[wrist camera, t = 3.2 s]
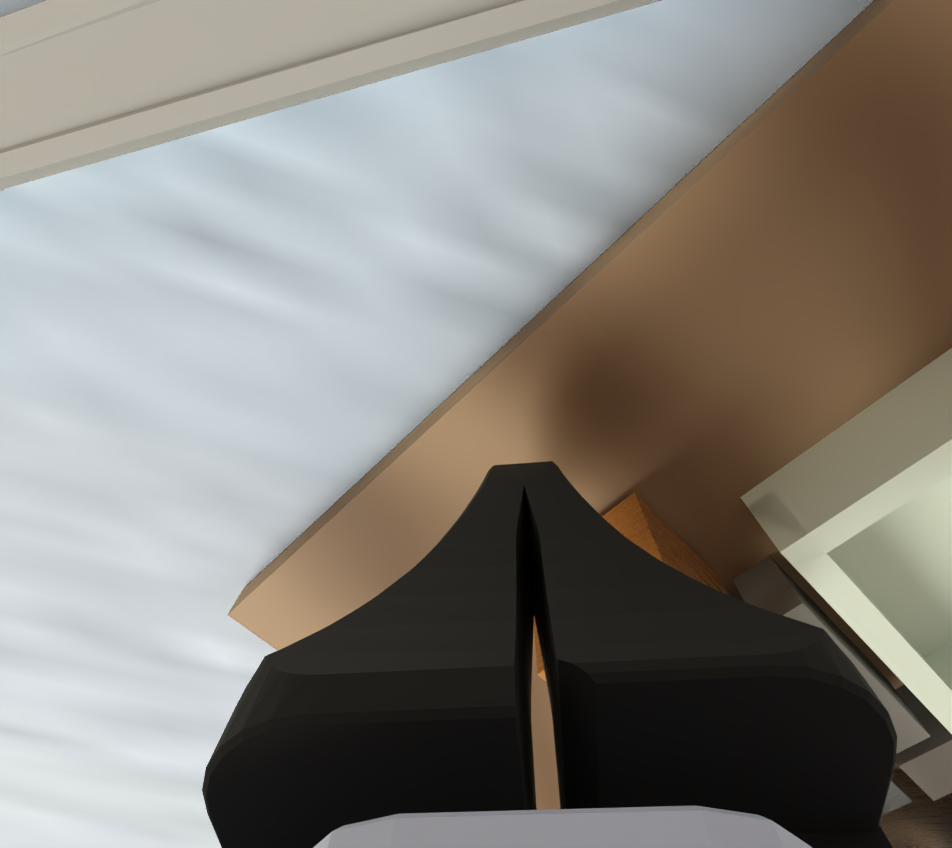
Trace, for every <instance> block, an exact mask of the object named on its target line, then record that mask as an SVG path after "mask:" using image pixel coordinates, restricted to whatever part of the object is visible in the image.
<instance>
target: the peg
mask: <svg viewBox="0 0 952 848" xmlns="http://www.w3.org/2000/svg"><path fill="white" fill-rule="evenodd" d="M893 772H894V774H895V775H896V777H897V778H898V780H899V782H900V783H901V785H902V786H903V788H904V789H905V791H906V792H907V794H908V795H909V797H910V799H911V800H912V802H910V803H908V804H906V805H903V806H901V807H899V808H897V809H895V810H893V811H891V812H889V813H887V814H884V815H882V817H881V821H880V826H881V828H882V830H883V832H884V833H885V835H886V837H887V839H888V840H889V842H890V844H891V846H892V847H893V848H952V793H950V794H948V795H946V796H943V797H941V798H939V799H937V800H935V801H933V800H932V799H931V798H930V797H929V796H928V795H927V794H926V793H925V792H924V791H923V790H922V789H921V788H920V787H919V786H918V785H917V784H916V783H915V782H914V781H913V780H912V779H911V778H910V777H909V776H908V775H907V774H906V773H905V772H904V771H903V770H902V769H894V770H893Z"/></svg>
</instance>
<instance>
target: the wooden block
mask: <svg viewBox="0 0 952 848" xmlns="http://www.w3.org/2000/svg"><path fill="white" fill-rule="evenodd" d="M602 517H603V518H604V519H605V520H606V521H607V522H608V523H610V524H611V525H612V526H613V527H614V528H615V529H616V530H618V531H619V532H620V533H621V534H622V535H624V536H625V537H626V538H627V539H629V540H630V541H632V542H633V543H635V544H636V545H638V546H639V547H640V548H642V549H643V550H645V551H646V552H648V553H649V554H651V555H652V556H654V557H655V558H657V559H659V560H660V561H662V562H664V563H665V564H667V565H669V566H671V567H672V568H674V569H676V570H678V571H680V572H682V573H683V574H685V575H687V576H689V577H691V578H693V579H694V580H696V581H698V582H701V583H703V584H705V585H707V586H709V587H711V588H713V589H715V590H717V591H720V592H722V593H725V594H727V595H729V594H728V592H727V590H726V588H725V587H724V585H723V583H722V581H721V579H720V577H719V576H718V575H717V574H716V573H715V572H714V571H713V570H712V569H711V568H710V567H709V566H708V565H707V564H706V563H705V562H704V561H703V560H702V559H701V558H700V557H699V556H698V555H697V554H696V553H695V552H694V551H693V550H692V549H691V548H690V547H689V546H688V545H687V544H686V543H685V542H684V541H683V540H682V539H681V538H680V537H679V536H678V535H677V534H676V533H675V532H674V531H673V530H672V529H671V528H670V527H669V526H668V525H667V524H666V523H665V522H664V521H663V520H662V519H661V518H660V517H659V516H658V515H657V514H656V513H655V512H654V511H653V510H652V509H651V508H650V507H649V506H648V505H647V504H646V503H645V502H644V501H643V500H642V499H641V498H640V497H639V496H638V495H637V494H636V493H635V492H634V493H632V494H631V495H630V496H628V497H627V498H626V499H625V500H623V501H622V502H621V503H619V504H618V505H617V506H615V507H614V508H613V509H611V510H610V511H609V512H607V513H606V514H605V515H603V516H602ZM534 635H535V649H536V663H537V675H538V676H539V677H541V678H542V679H543V680H544V681H546V677H545V671H544V666H543V661H542V655H541V650H540V644H539V639H538V634H537V628H536V623H535V617H534ZM910 802H912V800H911V799H910V797H909V795H908V794H907V792H906V791H905V789H904V788H903V786H902V785H901V783H900V782H899V780H898V778H897V777H896V775H895V774H894V772H893V774H892V778H891V782H890V786H889V790H888V793H887V797H886V801H885V805H884V809H883V813H882V815H884V814H887V813H889V812H891V811H893V810H895V809H897V808H899V807H901V806H903V805H906V804H908V803H910Z"/></svg>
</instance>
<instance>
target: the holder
mask: <svg viewBox="0 0 952 848" xmlns="http://www.w3.org/2000/svg"><path fill="white" fill-rule="evenodd" d="M951 348H952V0H874V1H873V2H872V3H871V4H870V5H869V6H868V7H867V8H866V9H865V10H864V11H862V12H861V13H860V14H859V15H858V16H857V17H856V18H855V19H854V20H853V21H852V22H851V23H850V24H849V25H847V26H846V27H845V28H844V29H843V30H842V31H841V32H840V33H839V34H838V35H837V36H836V37H835V38H833V39H832V40H831V41H830V42H829V43H828V44H827V45H826V46H825V47H824V48H823V49H822V50H821V51H820V52H818V53H817V54H816V55H815V56H814V57H813V58H812V59H811V60H810V61H809V62H808V63H807V64H806V65H805V66H803V67H802V68H801V69H800V70H799V71H798V72H797V73H796V74H795V75H794V76H793V77H792V78H791V79H790V80H788V81H787V82H786V83H785V84H784V85H783V86H782V87H781V88H780V89H779V90H778V91H777V92H776V93H775V94H773V95H772V96H771V97H770V98H769V99H768V100H767V101H766V102H765V103H764V104H763V105H762V106H761V107H759V108H758V109H757V110H756V111H755V112H754V113H753V114H752V115H751V116H750V117H749V118H748V119H747V120H746V121H744V122H743V123H742V124H741V125H740V126H739V127H738V128H737V129H736V130H735V131H734V132H733V133H732V134H731V135H729V136H728V137H727V138H726V139H725V140H724V141H723V142H722V143H721V144H720V145H719V146H718V147H717V148H716V149H714V150H713V151H712V152H711V153H710V154H709V155H708V156H707V157H706V158H705V159H704V160H703V161H702V162H701V163H699V164H698V165H697V166H696V167H695V168H694V169H693V170H692V171H691V172H690V173H689V174H688V175H687V176H685V177H684V178H683V179H682V180H681V181H680V182H679V183H678V184H677V185H676V186H675V187H674V188H673V189H672V190H670V191H669V192H668V193H667V194H666V195H665V196H664V197H663V198H662V199H661V200H660V201H659V202H658V203H657V204H655V205H654V206H653V207H652V208H651V209H650V210H649V211H648V212H647V213H646V214H645V215H644V216H643V217H642V218H640V219H639V220H638V221H637V222H636V223H635V224H634V225H633V226H632V227H631V228H630V229H629V230H628V231H627V232H625V233H624V234H623V235H622V236H621V237H620V238H619V239H618V240H617V241H616V242H615V243H614V244H613V245H611V246H610V247H609V248H608V249H607V250H606V251H605V252H604V253H603V254H602V255H601V256H600V257H599V258H598V259H596V260H595V261H594V262H593V263H592V264H591V265H590V266H589V267H588V268H587V269H586V270H585V271H584V272H583V273H581V274H580V275H579V276H578V277H577V278H576V279H575V280H574V281H573V282H572V283H571V284H570V285H569V286H568V287H566V288H565V289H564V290H563V291H562V292H561V293H560V294H559V295H558V296H557V297H556V298H555V299H554V300H553V301H551V302H550V303H549V304H548V305H547V306H546V307H545V308H544V309H543V310H542V311H541V312H540V313H539V314H537V315H536V316H535V317H534V318H533V319H532V320H531V321H530V322H529V323H528V324H527V325H526V326H525V327H524V328H522V329H521V330H520V331H519V332H518V333H517V334H516V335H515V336H514V337H513V338H512V339H511V340H510V341H509V342H507V343H506V344H505V345H504V346H503V347H502V348H501V349H500V350H499V351H498V352H497V353H496V354H495V355H494V356H492V357H491V358H490V359H489V360H488V361H487V362H486V363H485V364H484V365H483V366H482V367H481V368H480V369H478V370H477V371H476V372H475V373H474V374H473V375H472V376H471V377H470V378H469V379H468V380H467V381H466V382H465V383H463V384H462V385H461V386H460V387H459V388H458V389H457V390H456V391H455V392H454V393H453V394H452V395H451V396H450V397H448V398H447V399H446V400H445V401H444V402H443V403H442V404H441V405H440V406H439V407H438V408H437V409H436V410H435V411H433V412H432V413H431V414H430V415H429V416H428V417H427V418H426V419H425V420H424V421H423V422H422V423H421V424H420V425H418V426H417V427H416V428H415V429H414V430H413V431H412V432H411V433H410V434H409V435H408V436H407V437H406V438H404V439H403V440H402V441H401V442H400V443H399V444H398V445H397V446H396V447H395V448H394V449H393V450H392V451H391V452H389V453H388V454H387V455H386V456H385V457H384V458H383V459H382V460H381V461H380V462H379V463H378V464H377V465H376V466H374V467H373V468H372V469H371V470H370V471H369V472H368V473H367V474H366V475H365V476H364V477H363V478H362V479H361V480H359V481H358V482H357V483H356V484H355V485H354V486H353V487H352V488H351V489H350V490H349V491H348V492H347V493H346V494H344V495H343V496H342V497H341V498H340V499H339V500H338V501H337V502H336V503H335V504H334V505H333V506H332V507H330V508H329V509H328V510H327V511H326V512H325V513H324V514H323V515H322V516H321V517H320V518H319V519H318V520H317V521H315V522H314V523H313V524H312V525H311V526H310V527H309V528H308V529H307V530H306V531H305V532H304V533H303V534H302V535H300V536H299V537H298V538H297V539H296V540H295V541H294V542H293V543H292V544H291V545H290V546H289V547H288V548H287V549H285V550H284V551H283V552H282V553H281V554H280V555H279V556H278V557H277V558H276V559H275V560H274V561H273V562H272V563H270V564H269V565H268V566H267V567H266V568H265V569H264V570H263V571H262V572H261V573H260V574H259V575H258V576H256V577H255V578H254V579H253V580H252V581H251V582H250V583H249V584H248V585H247V586H246V587H245V588H244V589H243V590H242V592H241V594H240V595H239V597H238V599H237V600H236V602H235V603H234V605H233V607H232V608H231V610H230V612H229V613H228V615H229V616H230V617H231V618H233V619H234V620H236V621H237V622H238V623H240V624H241V625H243V626H244V627H245V628H247V629H248V630H250V631H251V632H252V633H254V634H255V635H257V636H258V637H259V638H261V639H262V640H264V641H265V642H266V643H268V644H269V645H271V646H272V647H273V648H275V649H276V650H280V649H282V648H285V647H287V646H289V645H291V644H293V643H295V642H297V641H299V640H301V639H303V638H305V637H307V636H309V635H311V634H313V633H315V632H317V631H319V630H321V629H323V628H325V627H327V626H329V625H331V624H332V623H334V622H336V621H338V620H339V619H341V618H343V617H344V616H346V615H348V614H349V613H351V612H353V611H354V610H356V609H358V608H359V607H361V606H362V605H364V604H365V603H367V602H368V601H370V600H371V599H373V598H374V597H376V596H377V595H379V594H380V593H381V592H383V591H384V590H385V589H387V588H388V587H389V586H390V585H392V584H393V583H394V582H396V581H397V580H398V579H400V578H401V577H402V576H403V575H405V574H406V573H407V572H409V571H410V570H411V569H412V568H413V567H415V566H416V565H417V564H418V563H419V562H420V561H421V560H422V559H423V558H424V557H425V556H426V555H427V554H428V553H429V552H430V551H431V550H432V549H433V548H434V547H435V546H436V545H437V544H438V542H439V541H440V540H441V539H442V538H443V537H444V535H445V534H446V533H447V532H448V530H449V529H450V528H451V527H452V526H453V524H454V523H455V522H456V521H457V519H458V518H459V517H460V515H461V514H462V513H463V511H464V510H465V508H466V507H467V505H468V504H469V503H470V501H471V500H472V498H473V497H474V495H475V494H476V492H477V490H478V489H479V487H480V485H481V484H482V482H483V480H484V478H485V476H486V474H487V472H488V471H489V469H490V468H491V467H492V466H493V465H505V464H519V463H533V462H547V461H553V462H554V463H555V464H556V465H557V466H558V467H559V469H560V470H561V471H562V473H563V474H564V476H565V477H566V478H567V479H568V481H569V482H570V483H571V484H572V485H573V487H574V488H575V489H576V490H577V491H578V492H579V494H580V495H581V496H582V497H583V498H584V499H585V500H586V501H587V502H588V503H589V504H590V505H591V506H592V507H593V508H594V509H595V510H596V511H597V512H598V513H599V514H600V515H601V516H603V515H605V514H606V513H607V512H609V511H610V510H611V509H613V508H614V507H615V506H617V505H618V504H619V503H621V502H622V501H623V500H625V499H626V498H627V497H628V496H630V495H631V494H632V493H634V492H635V493H636V494H637V495H638V496H639V497H640V498H641V499H642V500H643V501H644V502H645V503H646V504H647V505H648V506H649V507H650V508H651V509H652V510H653V511H654V512H655V513H656V514H657V515H658V516H659V517H660V518H661V519H662V520H663V521H664V522H665V523H666V524H667V525H668V526H669V527H670V528H671V529H672V530H673V531H674V532H675V533H676V534H677V535H678V536H679V537H680V538H681V539H682V540H683V541H684V542H685V543H686V544H687V545H688V546H689V547H690V548H691V549H692V550H693V551H694V552H695V553H696V554H697V555H698V556H699V557H700V558H701V559H702V560H703V561H704V562H705V563H706V564H707V565H708V566H709V567H710V568H711V569H712V570H713V571H714V572H715V573H716V574H717V575H718V576H719V577H720V579H721V581H722V583H723V585H724V587H725V588H726V590H727V592H728V594H729V596H732V597H734V598H737V599H739V600H741V601H744V602H746V603H748V604H751V605H754V606H756V607H759V608H762V609H765V610H768V611H771V612H774V613H777V614H780V615H783V616H786V617H789V618H792V619H795V620H798V621H801V622H804V623H807V624H810V625H813V626H816V627H819V628H822V629H824V630H825V631H826V632H827V633H828V635H829V636H830V637H831V638H832V640H833V641H834V642H835V643H836V644H837V645H838V646H839V648H840V649H841V650H842V651H843V652H844V653H845V654H846V656H847V657H848V658H849V659H850V660H851V661H852V663H853V664H854V665H855V667H856V668H857V669H858V671H859V672H860V673H861V675H862V676H863V677H864V678H865V680H866V681H867V683H868V684H869V685H870V687H871V688H872V690H873V691H874V693H875V694H876V695H877V697H878V698H879V700H880V701H881V702H882V704H883V705H884V707H885V708H886V709H887V711H888V712H889V715H890V717H891V720H892V723H893V726H894V728H895V731H896V734H897V750H896V762H895V766H894V769H902V770H903V771H904V772H905V773H906V774H907V775H908V776H909V777H910V778H911V779H912V780H913V781H914V782H915V783H916V784H917V785H918V786H919V787H920V788H921V789H922V790H923V791H924V792H925V793H926V794H927V795H928V796H929V797H930V798H931V799H932V800H933V801H935V800H937V799H939V798H941V797H943V796H946V795H948V794H950V793H952V734H951V733H950V732H949V731H948V730H947V729H946V728H945V727H944V726H943V725H942V724H941V723H940V721H939V720H938V719H937V718H936V717H935V716H934V715H933V714H932V713H931V712H930V711H929V710H928V709H927V708H926V707H925V706H924V705H923V703H922V702H921V701H920V700H919V699H918V698H917V697H916V696H915V695H914V694H913V693H912V692H911V691H910V690H909V689H908V688H907V686H906V685H905V684H904V683H903V682H902V681H901V680H900V679H899V678H898V677H897V676H896V675H895V674H894V673H893V672H892V671H891V669H890V668H889V667H888V666H887V665H886V664H885V663H884V662H883V661H882V660H881V659H880V658H879V657H878V656H877V655H876V654H875V652H874V651H873V650H872V649H871V648H870V647H869V646H868V645H867V644H866V643H865V642H864V641H863V640H862V639H861V638H860V637H859V636H858V634H857V633H856V632H855V631H854V630H853V629H852V628H851V627H850V626H849V625H848V624H847V623H846V622H845V621H844V620H843V619H842V617H841V616H840V615H839V614H838V613H837V612H836V611H835V610H834V609H833V608H832V607H831V606H830V605H829V604H828V603H827V602H826V600H825V599H824V598H823V597H822V596H821V595H820V594H819V593H818V592H817V591H816V590H815V589H814V588H813V587H812V586H811V585H810V583H809V582H808V581H807V580H806V579H805V578H804V577H803V576H802V575H801V574H800V573H799V572H798V571H797V570H796V569H795V568H794V567H793V565H792V564H791V563H790V562H789V561H788V560H787V559H786V558H785V557H784V556H783V555H782V554H781V553H780V551H779V550H778V549H777V547H776V546H775V545H774V543H773V542H772V540H771V539H770V538H769V536H768V535H767V533H766V532H765V531H764V529H763V528H762V527H761V525H760V524H759V522H758V521H757V520H756V518H755V517H754V516H753V514H752V513H751V511H750V510H749V509H748V507H747V506H746V504H745V503H744V502H743V500H742V499H741V498H740V497H741V496H743V495H744V494H746V493H747V492H749V491H750V490H751V489H753V488H754V487H756V486H757V485H758V484H760V483H761V482H763V481H764V480H765V479H767V478H768V477H770V476H771V475H773V474H774V473H775V472H777V471H778V470H780V469H781V468H782V467H784V466H785V465H787V464H788V463H790V462H791V461H792V460H794V459H795V458H797V457H798V456H799V455H801V454H802V453H804V452H805V451H807V450H808V449H809V448H811V447H812V446H814V445H815V444H816V443H818V442H819V441H821V440H822V439H823V438H825V437H826V436H828V435H829V434H831V433H832V432H833V431H835V430H836V429H838V428H839V427H840V426H842V425H843V424H845V423H846V422H848V421H849V420H850V419H852V418H853V417H855V416H856V415H857V414H859V413H860V412H862V411H863V410H865V409H866V408H867V407H869V406H870V405H872V404H873V403H874V402H876V401H877V400H879V399H880V398H882V397H883V396H884V395H886V394H887V393H889V392H890V391H891V390H893V389H894V388H896V387H897V386H898V385H900V384H901V383H903V382H904V381H906V380H907V379H908V378H910V377H911V376H913V375H914V374H915V373H917V372H918V371H920V370H921V369H923V368H924V367H925V366H927V365H928V364H930V363H931V362H932V361H934V360H935V359H937V358H938V357H940V356H941V355H942V354H944V353H945V352H947V351H948V350H949V349H951ZM531 724H532V741H533V758H534V774H535V791H536V807H537V810H552V809H560V799H559V788H558V776H557V765H556V754H555V743H554V732H553V721H552V713H551V706H550V699H549V693H548V687H547V682H546V681H544V680H543V679H542V678H541V677H539V676H538V675H537V663H536V649H535V635H534V631H533V659H532V686H531Z"/></svg>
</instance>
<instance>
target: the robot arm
mask: <svg viewBox="0 0 952 848" xmlns="http://www.w3.org/2000/svg"><path fill="white" fill-rule="evenodd" d="M534 617H535V623H536V628H537V634H538V639H539V644H540V650H541V655H542V661H543V666H544V671H545V677H546V682H547V687H548V693H549V699H550V706H551V713H552V721H553V732H554V743H555V754H556V765H557V776H558V788H559V799H560V809H552V810H537V807H536V791H535V774H534V758H533V741H532V724H531V686H532V659H533V631H534ZM896 750H897V734H896V731H895V728H894V726H893V723H892V720H891V717H890V715H889V712H888V711H887V709H886V708H885V707H884V705H883V704H882V702H881V701H880V700H879V698H878V697H877V695H876V694H875V693H874V691H873V690H872V688H871V687H870V685H869V684H868V683H867V681H866V680H865V678H864V677H863V676H862V675H861V673H860V672H859V671H858V669H857V668H856V667H855V665H854V664H853V663H852V661H851V660H850V659H849V658H848V657H847V656H846V654H845V653H844V652H843V651H842V650H841V649H840V648H839V646H838V645H837V644H836V643H835V642H834V641H833V640H832V638H831V637H830V636H829V635H828V633H827V632H826V631H825V630H824V629H822V628H819V627H816V626H813V625H810V624H807V623H804V622H801V621H798V620H795V619H792V618H789V617H786V616H783V615H780V614H777V613H774V612H771V611H768V610H765V609H762V608H759V607H756V606H754V605H751V604H748V603H746V602H744V601H741V600H739V599H737V598H734V597H732V596H729V595H727V594H725V593H722V592H720V591H717V590H715V589H713V588H711V587H709V586H707V585H705V584H703V583H701V582H698V581H696V580H694V579H693V578H691V577H689V576H687V575H685V574H683V573H682V572H680V571H678V570H676V569H674V568H672V567H671V566H669V565H667V564H665V563H664V562H662V561H660V560H659V559H657V558H655V557H654V556H652V555H651V554H649V553H648V552H646V551H645V550H643V549H642V548H640V547H639V546H638V545H636V544H635V543H633V542H632V541H630V540H629V539H627V538H626V537H625V536H624V535H622V534H621V533H620V532H619V531H618V530H616V529H615V528H614V527H613V526H612V525H611V524H610V523H608V522H607V521H606V520H605V519H604V518H603V517H602V516H601V515H600V514H599V513H598V512H597V511H596V510H595V509H594V508H593V507H592V506H591V505H590V504H589V503H588V502H587V501H586V500H585V499H584V498H583V497H582V496H581V495H580V494H579V492H578V491H577V490H576V489H575V488H574V487H573V485H572V484H571V483H570V482H569V481H568V479H567V478H566V477H565V476H564V474H563V473H562V471H561V470H560V469H559V467H558V466H557V465H556V464H555V463H554V462H553V461H547V462H533V463H519V464H505V465H493V466H492V467H491V468H490V469H489V471H488V472H487V474H486V476H485V478H484V480H483V482H482V484H481V485H480V487H479V489H478V490H477V492H476V494H475V495H474V497H473V498H472V500H471V501H470V503H469V504H468V505H467V507H466V508H465V510H464V511H463V513H462V514H461V515H460V517H459V518H458V519H457V521H456V522H455V523H454V524H453V526H452V527H451V528H450V529H449V530H448V532H447V533H446V534H445V535H444V537H443V538H442V539H441V540H440V541H439V542H438V544H437V545H436V546H435V547H434V548H433V549H432V550H431V551H430V552H429V553H428V554H427V555H426V556H425V557H424V558H423V559H422V560H421V561H420V562H419V563H418V564H417V565H416V566H415V567H413V568H412V569H411V570H410V571H409V572H407V573H406V574H405V575H403V576H402V577H401V578H400V579H398V580H397V581H396V582H394V583H393V584H392V585H390V586H389V587H388V588H387V589H385V590H384V591H383V592H381V593H380V594H379V595H377V596H376V597H374V598H373V599H371V600H370V601H368V602H367V603H365V604H364V605H362V606H361V607H359V608H358V609H356V610H354V611H353V612H351V613H349V614H348V615H346V616H344V617H343V618H341V619H339V620H338V621H336V622H334V623H332V624H331V625H329V626H327V627H325V628H323V629H321V630H319V631H317V632H315V633H313V634H311V635H309V636H307V637H305V638H303V639H301V640H299V641H297V642H295V643H293V644H291V645H289V646H287V647H285V648H282V649H280V650H278V651H276V652H274V653H272V654H269V655H267V656H265V657H264V659H263V661H262V662H261V664H260V666H259V667H258V669H257V671H256V672H255V674H254V676H253V677H252V679H251V680H250V682H249V684H248V685H247V687H246V689H245V690H244V692H243V694H242V696H241V698H240V700H239V702H238V704H237V706H236V708H235V710H234V712H233V714H232V716H231V718H230V720H229V722H228V724H227V726H226V728H225V730H224V732H223V734H222V736H221V738H220V740H219V742H218V744H217V747H216V749H215V751H214V753H213V755H212V757H211V759H210V761H209V763H208V765H207V767H206V771H205V777H204V783H203V789H202V791H203V796H204V800H205V804H206V809H207V813H208V816H209V818H210V820H211V823H212V825H213V827H214V830H215V832H216V835H217V837H218V839H219V842H220V844H221V847H222V848H893V847H892V846H891V844H890V842H889V840H888V839H887V837H886V835H885V833H884V832H883V830H882V828H881V826H880V821H881V817H882V813H883V809H884V805H885V801H886V797H887V793H888V790H889V786H890V782H891V778H892V774H893V770H894V766H895V762H896Z"/></svg>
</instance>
